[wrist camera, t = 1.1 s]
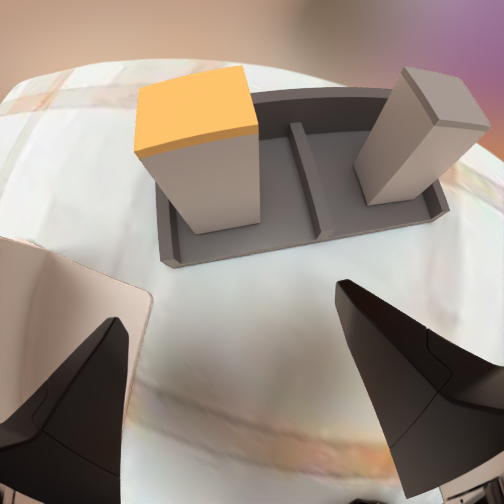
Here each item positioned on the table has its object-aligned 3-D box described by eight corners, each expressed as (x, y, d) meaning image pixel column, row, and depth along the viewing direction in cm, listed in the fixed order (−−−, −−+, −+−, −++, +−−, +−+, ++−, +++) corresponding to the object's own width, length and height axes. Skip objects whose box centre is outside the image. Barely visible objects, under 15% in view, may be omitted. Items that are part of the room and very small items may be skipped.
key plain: (413, 199, 21) (491, 126, 10) (367, 205, 21) (439, 119, 10) (398, 160, 22) (459, 78, 11) (353, 164, 22) (403, 66, 11)
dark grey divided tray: (433, 221, 22) (473, 194, 16) (173, 268, 22) (139, 249, 15) (394, 127, 24) (418, 87, 18) (165, 155, 24) (141, 112, 18)
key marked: (260, 222, 21) (258, 124, 10) (195, 234, 21) (133, 151, 10) (251, 177, 22) (242, 65, 11) (190, 189, 22) (139, 88, 11)
